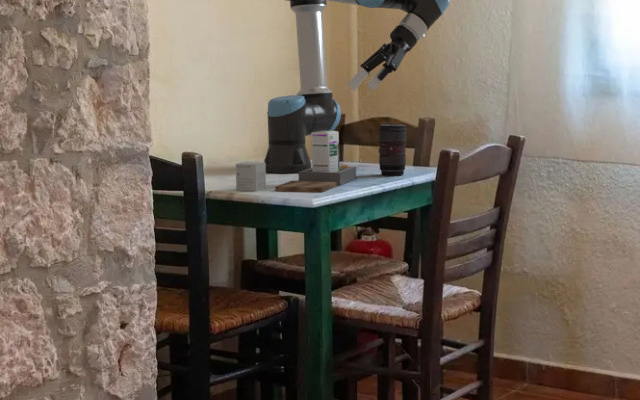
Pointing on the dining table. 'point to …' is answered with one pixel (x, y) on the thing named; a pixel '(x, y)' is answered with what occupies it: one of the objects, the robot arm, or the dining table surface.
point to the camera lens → (392, 149)
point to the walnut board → (306, 186)
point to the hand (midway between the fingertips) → (360, 87)
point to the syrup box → (325, 151)
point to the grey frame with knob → (330, 175)
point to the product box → (250, 176)
